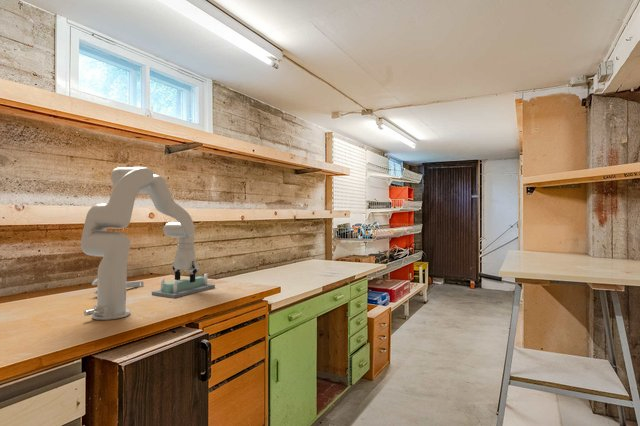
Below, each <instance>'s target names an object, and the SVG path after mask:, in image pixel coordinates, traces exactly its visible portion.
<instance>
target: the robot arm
mask: <svg viewBox="0 0 640 426" xmlns="http://www.w3.org/2000/svg"><path fill="white" fill-rule="evenodd" d="M110 180H111V183H112V184H113V185H114V186H113V188H112V189H111V193H110V196H109V200H108V202H107V203H97V204H94V205H92V206H91V207H90V208H89V210H88V211H87V213H86V216H85V219H84V226H83V230H82V233H81V237H80V238H81V239H80V248H81V251H82V252H83V253H84V254H85V255H87V256H91V257H102V260H101V261H100V262H99V264H98V268H97V279H98V284H97V285H96V286H97V289H96V290H97V294H96V296H97V297H96V305H93V308H92V309H86V310H84V311H83V316H85V317H87V316H91V318H92V319H94V320H98V321H99V320H100V321H111V320H116V319H122V318H124V317H125V318H126V317H128V316H129V315H131V309H129V308H127V288H126V282H127V274H128V273H127V270H128V269H127V265H128V258H129V252H130V249H131V241H130V240H131V239H130V238H129V236H128V235H126V234H125V233H122V232H119V231H107V229H115V230H117V229H125V228H127V227H128V226H129V225H130V223H131V220H132V215H133V209H134V205H135V201H136V197H137V195H138V194H139V195H140V194H144V195H146V194H147V195H149V197H150V199H151V201H152V203H153V205H154V207H155V209H156V211H158V212H159V213H160V214H163V215H166V216H168V217H171V218H173V219H175V220H176V221H169V222H167V223H166V224H165V225H164V226H163V233H164V234H165V236H166V237H169V238H176V239H177V244H176V247H177V249H176V250H175V254H174V255H175V256H174V261H173V262H172V263H171V267H172V269H173V272H174V280H177V281H179V280H181V271H188V272H189V273H190V274H189V278H190V282H195V274H196V275H197V273H198V272H199V269H200V267H201V266H200V265H199V264H198V263H197V262H196V261H197V260H196V252H195V248H194V247H195V244H194V243H195V231H196V229H195V223H194V222H193V219H192V217H191V215H190V213H189V212H188V211H187V210H186V209H185V208H183V207H182V206H181V205H180V204H178V203H177V202H176V201H175V200H174V197H173V195H172V192H171V190H170V189H169V187H168V184H167V182H166V179H165V178H164V177H163V176H162V175H161V174H155V173H154V172H153V170H152V169H151V168H148V167H144V166H132V167H131V166H126V167H125V166H124V167H122V166H121V167H116V168H114V169H113V170H112V171H111V173H110Z"/></svg>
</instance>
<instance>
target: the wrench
mask: <svg viewBox="0 0 640 426" xmlns="http://www.w3.org/2000/svg"><path fill="white" fill-rule="evenodd" d="M97 285H98V278H95V279H94V280H93V281H92V282H91V286H97ZM144 285H145V283H144V281H143V280H135V281H126V289H129V288H142V287H144ZM93 294H96V295H97V289H95V290H94V291H93Z"/></svg>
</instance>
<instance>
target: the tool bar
mask: <svg viewBox="0 0 640 426" xmlns="http://www.w3.org/2000/svg"><path fill="white" fill-rule="evenodd" d="M173 283H174V281H170V282H164V284H163V292H165V293H172V292H173ZM201 285H204V276H196V277H195V282H190V277H189V278H184V279H180V280H177V291H180V290H184V289H188V288H192V287H197V286H201Z"/></svg>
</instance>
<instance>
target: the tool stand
mask: <svg viewBox="0 0 640 426" xmlns="http://www.w3.org/2000/svg"><path fill="white" fill-rule="evenodd" d="M196 275H197V273H196V274H195V277H197V276H196ZM203 275H204V276H203V277H204V285H201V286H197V287H192V288H188V289H184V290H180V291H177V281H178V280H175V279H173V282H174V283H173V292H172V293H165V292H163V284H164V283H165V281H166V280H165V278H163V277H162V278H160V289H158V290H155V291H151V296H154V297H155V296H156V297H162V298H163V297H164V298H170V299H177V298H180V297H184V296H185V297H186V296H188V295H193V294H196V293H200V292H204V291H207V290H211V289H215V287H216V285H215V284H212V283H208V280H209V279H208V273H204V274H203Z"/></svg>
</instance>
